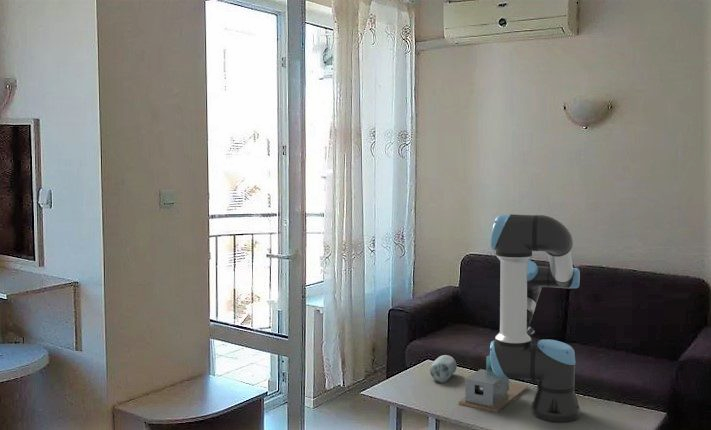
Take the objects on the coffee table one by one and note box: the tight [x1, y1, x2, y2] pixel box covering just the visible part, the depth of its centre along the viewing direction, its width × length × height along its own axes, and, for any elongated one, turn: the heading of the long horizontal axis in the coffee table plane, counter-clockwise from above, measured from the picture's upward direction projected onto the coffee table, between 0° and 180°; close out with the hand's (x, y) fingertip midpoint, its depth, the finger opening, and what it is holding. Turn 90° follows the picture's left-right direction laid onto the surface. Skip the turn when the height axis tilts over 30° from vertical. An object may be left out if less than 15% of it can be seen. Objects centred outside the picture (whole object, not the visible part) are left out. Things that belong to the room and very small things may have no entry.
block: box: [478, 355, 510, 392], centre depth 240 cm, size 14×8×11 cm, turn 145°
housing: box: [458, 368, 529, 414], centre depth 244 cm, size 27×14×9 cm, turn 145°
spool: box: [429, 354, 458, 383], centre depth 263 cm, size 14×10×10 cm
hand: (505, 366), depth 251 cm, fingers closed
